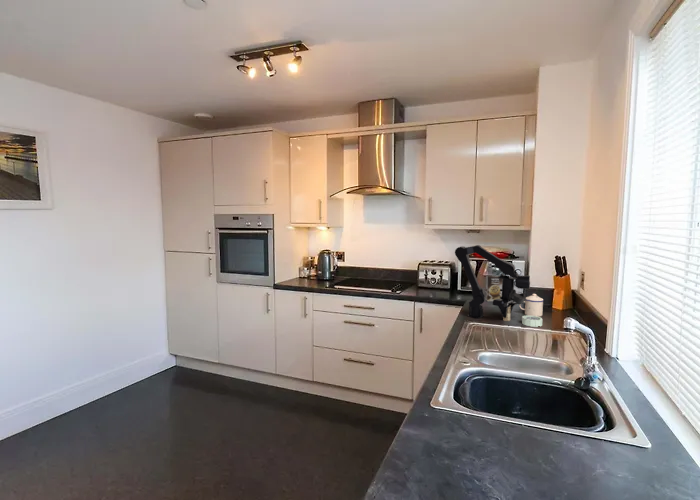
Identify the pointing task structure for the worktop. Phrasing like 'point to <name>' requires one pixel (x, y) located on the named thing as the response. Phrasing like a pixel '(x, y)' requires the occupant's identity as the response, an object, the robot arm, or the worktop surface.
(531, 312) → the teacup with lid
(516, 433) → the worktop surface
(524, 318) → the light green piece
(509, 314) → the wooden square beam
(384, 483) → the worktop surface
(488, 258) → the robot arm
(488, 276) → the coffee box
